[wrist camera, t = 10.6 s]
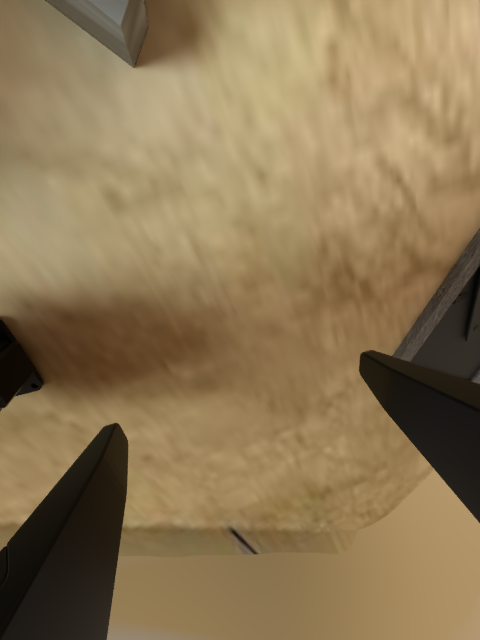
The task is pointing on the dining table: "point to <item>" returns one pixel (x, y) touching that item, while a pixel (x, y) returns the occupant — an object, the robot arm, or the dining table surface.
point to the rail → (110, 23)
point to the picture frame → (450, 322)
